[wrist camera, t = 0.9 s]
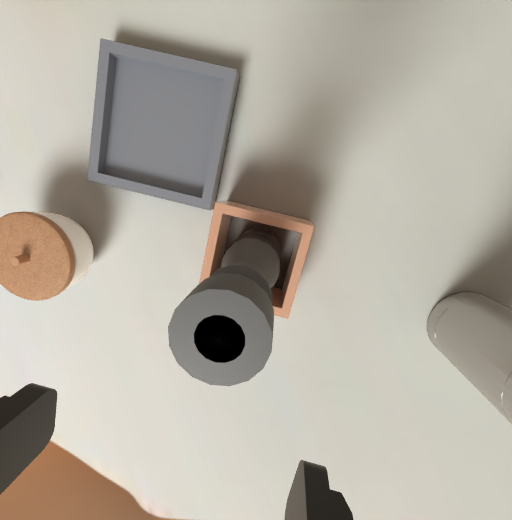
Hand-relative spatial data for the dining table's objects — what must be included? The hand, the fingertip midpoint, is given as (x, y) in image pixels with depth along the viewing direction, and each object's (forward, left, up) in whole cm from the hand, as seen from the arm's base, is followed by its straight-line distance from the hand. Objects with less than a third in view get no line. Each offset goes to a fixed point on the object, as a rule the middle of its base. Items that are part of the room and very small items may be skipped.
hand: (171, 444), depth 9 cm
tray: (+15, -12, -32) cm, 37 cm away
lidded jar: (+26, +6, -32) cm, 42 cm away
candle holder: (0, 0, -32) cm, 32 cm away
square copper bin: (0, 0, -32) cm, 32 cm away
